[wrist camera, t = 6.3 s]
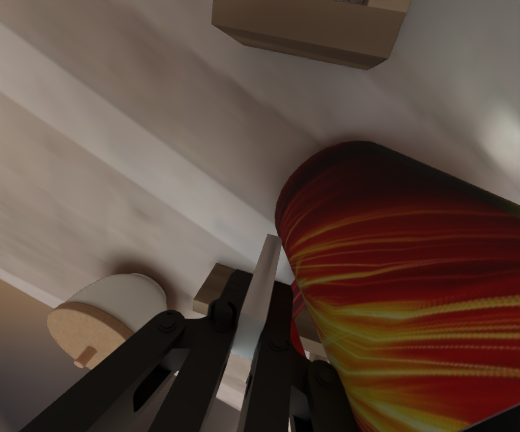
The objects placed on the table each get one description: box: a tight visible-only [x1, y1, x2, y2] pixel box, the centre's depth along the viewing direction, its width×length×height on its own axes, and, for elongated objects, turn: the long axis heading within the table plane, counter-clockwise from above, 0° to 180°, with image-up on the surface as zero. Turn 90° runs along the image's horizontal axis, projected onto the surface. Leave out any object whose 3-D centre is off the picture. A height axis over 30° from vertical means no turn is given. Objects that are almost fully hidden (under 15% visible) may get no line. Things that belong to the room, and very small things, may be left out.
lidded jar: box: [47, 273, 167, 370], centre depth 25 cm, size 11×11×9 cm
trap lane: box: [193, 0, 411, 363], centre depth 16 cm, size 34×31×5 cm
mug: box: [275, 141, 520, 432], centre depth 12 cm, size 10×14×12 cm
